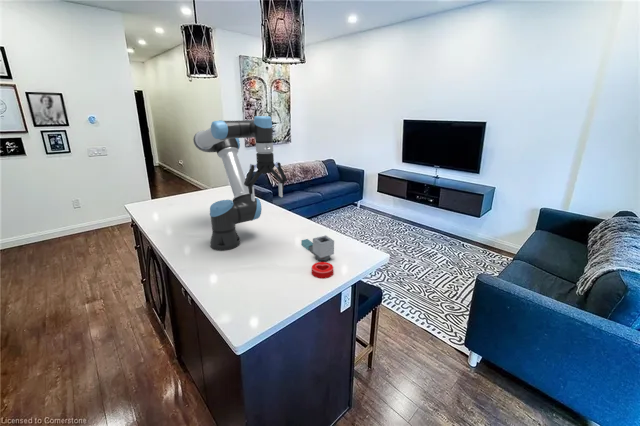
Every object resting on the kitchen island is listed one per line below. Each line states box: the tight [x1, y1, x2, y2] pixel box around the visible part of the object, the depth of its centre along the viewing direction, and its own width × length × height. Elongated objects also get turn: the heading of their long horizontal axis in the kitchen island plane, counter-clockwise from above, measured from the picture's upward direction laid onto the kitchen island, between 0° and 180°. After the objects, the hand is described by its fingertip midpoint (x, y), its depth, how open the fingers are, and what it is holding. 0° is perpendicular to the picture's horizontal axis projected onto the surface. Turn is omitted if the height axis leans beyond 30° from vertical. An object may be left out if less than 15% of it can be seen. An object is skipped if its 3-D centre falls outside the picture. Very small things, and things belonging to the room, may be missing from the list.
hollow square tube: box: [312, 235, 335, 258], centre depth 140 cm, size 7×7×7 cm
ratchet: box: [300, 238, 331, 263], centre depth 147 cm, size 22×7×8 cm, turn 31°
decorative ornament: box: [311, 261, 334, 279], centre depth 129 cm, size 10×10×3 cm
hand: (267, 198), depth 137 cm, fingers open, 13 cm apart
